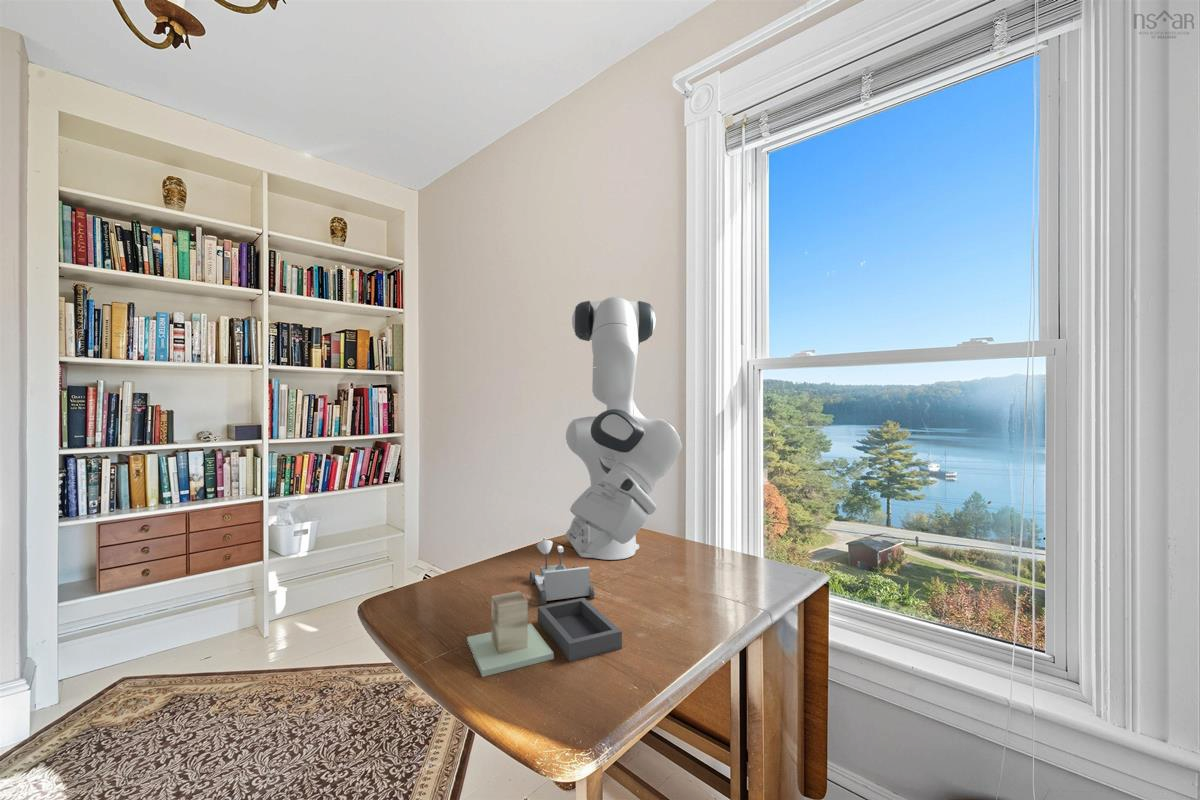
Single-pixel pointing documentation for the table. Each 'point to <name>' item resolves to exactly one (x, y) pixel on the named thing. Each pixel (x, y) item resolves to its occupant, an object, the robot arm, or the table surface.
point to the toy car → (561, 578)
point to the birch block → (509, 622)
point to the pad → (497, 663)
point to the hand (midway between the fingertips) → (577, 545)
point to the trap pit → (579, 629)
